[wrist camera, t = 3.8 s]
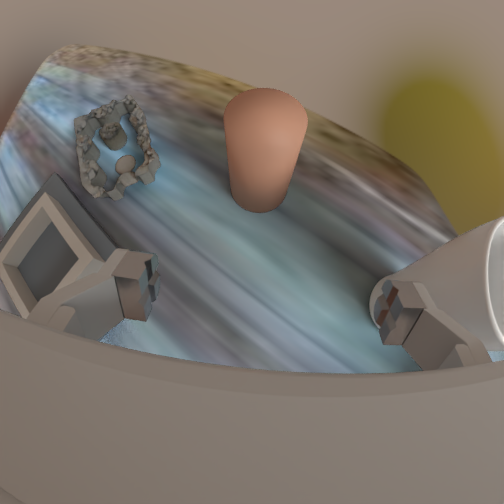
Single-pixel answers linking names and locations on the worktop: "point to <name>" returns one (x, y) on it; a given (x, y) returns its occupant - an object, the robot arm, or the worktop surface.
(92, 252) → the base board
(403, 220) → the worktop surface
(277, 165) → the pillar
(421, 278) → the drinking glass
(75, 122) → the grey rock frame
